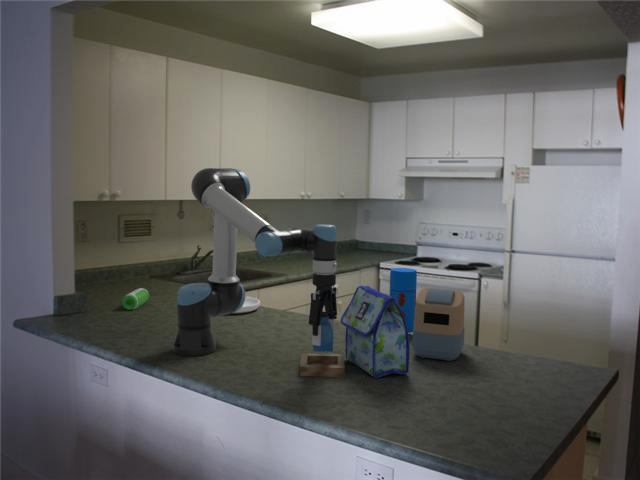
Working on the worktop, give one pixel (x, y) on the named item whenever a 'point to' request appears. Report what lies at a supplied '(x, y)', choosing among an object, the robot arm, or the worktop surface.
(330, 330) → the perfume bottle
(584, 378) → the worktop surface
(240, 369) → the worktop surface
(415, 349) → the alarm clock
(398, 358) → the lunch bag
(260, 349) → the worktop surface
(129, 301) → the speaker
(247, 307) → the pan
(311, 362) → the wooden picture frame
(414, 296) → the thermos
